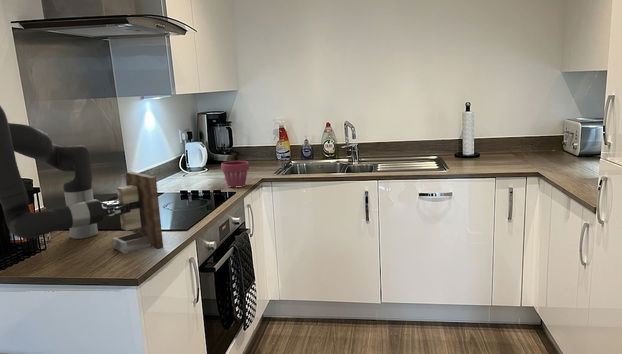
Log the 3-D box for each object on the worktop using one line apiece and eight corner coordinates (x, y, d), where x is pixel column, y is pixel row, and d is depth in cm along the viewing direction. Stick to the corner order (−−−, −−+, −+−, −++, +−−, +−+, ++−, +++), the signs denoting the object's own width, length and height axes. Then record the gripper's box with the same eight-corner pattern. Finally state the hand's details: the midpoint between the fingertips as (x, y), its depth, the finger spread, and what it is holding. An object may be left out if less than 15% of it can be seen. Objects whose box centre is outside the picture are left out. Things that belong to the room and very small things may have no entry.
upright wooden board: (107, 245, 164) (98, 176, 159) (138, 237, 172) (131, 171, 167) (130, 256, 151) (122, 182, 147) (163, 247, 159) (155, 176, 154)
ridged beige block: (121, 228, 159) (116, 187, 157) (137, 225, 163) (133, 184, 161) (126, 230, 157) (122, 189, 154) (142, 227, 160) (138, 186, 158)
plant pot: (254, 184, 256) (253, 160, 254) (242, 189, 244) (240, 165, 241) (231, 183, 261) (229, 160, 259) (217, 188, 249) (215, 164, 246)
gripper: (91, 205, 143) (145, 194, 155) (74, 198, 153) (126, 189, 165) (94, 229, 144) (148, 217, 156) (77, 221, 154) (128, 210, 166)
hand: (136, 203), depth 160 cm, fingers closed on ridged beige block, 4 cm apart
